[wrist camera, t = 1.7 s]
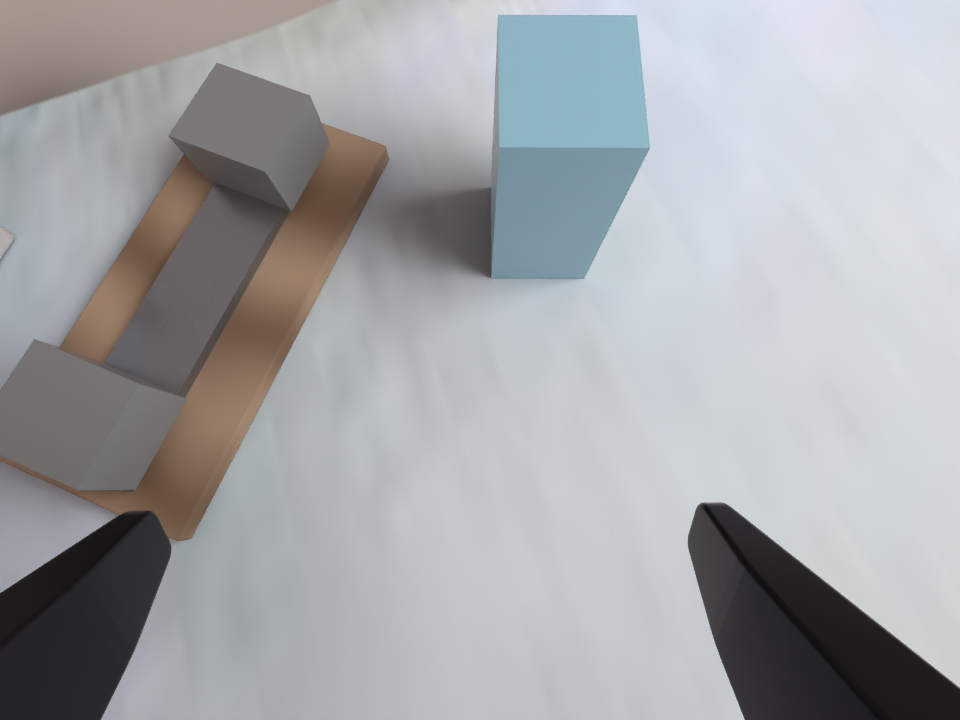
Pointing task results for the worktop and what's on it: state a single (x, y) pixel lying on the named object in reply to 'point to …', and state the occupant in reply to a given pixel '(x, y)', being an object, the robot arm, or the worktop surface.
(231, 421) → the board
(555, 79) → the block
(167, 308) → the rail
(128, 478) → the mounted modules
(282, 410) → the worktop surface
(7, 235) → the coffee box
